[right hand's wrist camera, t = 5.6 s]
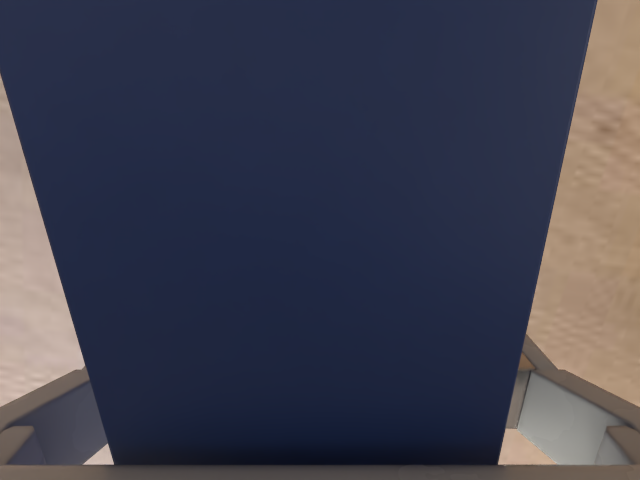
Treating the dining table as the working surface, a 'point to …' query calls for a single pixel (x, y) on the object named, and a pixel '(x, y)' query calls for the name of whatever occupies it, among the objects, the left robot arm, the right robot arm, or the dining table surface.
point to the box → (297, 214)
